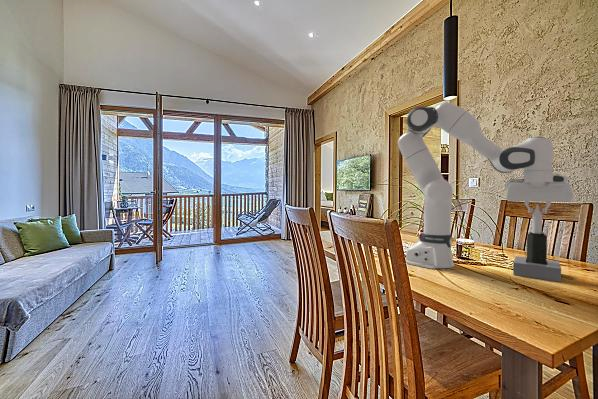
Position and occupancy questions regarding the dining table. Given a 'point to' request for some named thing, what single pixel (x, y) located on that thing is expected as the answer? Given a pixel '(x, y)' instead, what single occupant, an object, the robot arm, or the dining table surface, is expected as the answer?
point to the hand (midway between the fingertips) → (537, 213)
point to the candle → (536, 240)
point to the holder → (537, 269)
